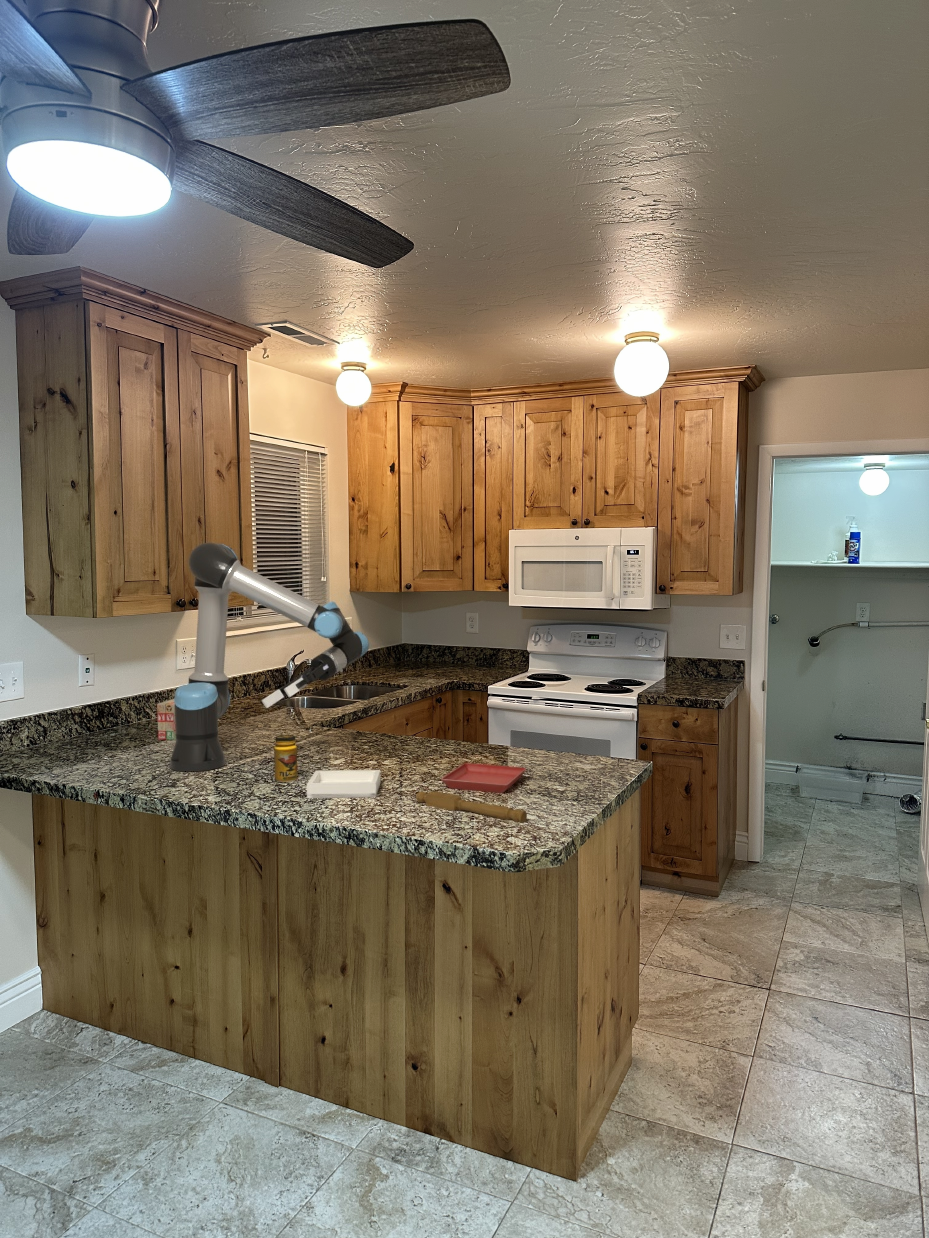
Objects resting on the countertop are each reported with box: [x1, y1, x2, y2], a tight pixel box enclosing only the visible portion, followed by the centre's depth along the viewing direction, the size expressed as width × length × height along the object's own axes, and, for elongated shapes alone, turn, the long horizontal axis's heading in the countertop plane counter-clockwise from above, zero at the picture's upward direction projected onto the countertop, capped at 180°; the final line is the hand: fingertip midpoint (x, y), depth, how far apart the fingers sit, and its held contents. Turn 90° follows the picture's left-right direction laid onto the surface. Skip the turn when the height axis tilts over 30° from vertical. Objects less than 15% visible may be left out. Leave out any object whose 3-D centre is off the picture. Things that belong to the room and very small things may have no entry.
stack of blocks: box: [156, 698, 176, 741], centre depth 290 cm, size 21×6×12 cm, turn 168°
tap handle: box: [415, 790, 528, 824], centre depth 193 cm, size 3×3×30 cm
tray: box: [306, 769, 382, 799], centre depth 213 cm, size 17×14×4 cm
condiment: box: [267, 734, 304, 784], centre depth 224 cm, size 7×8×12 cm
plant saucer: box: [440, 762, 527, 794], centre depth 218 cm, size 18×18×3 cm
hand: (275, 698), depth 234 cm, fingers open, 13 cm apart
